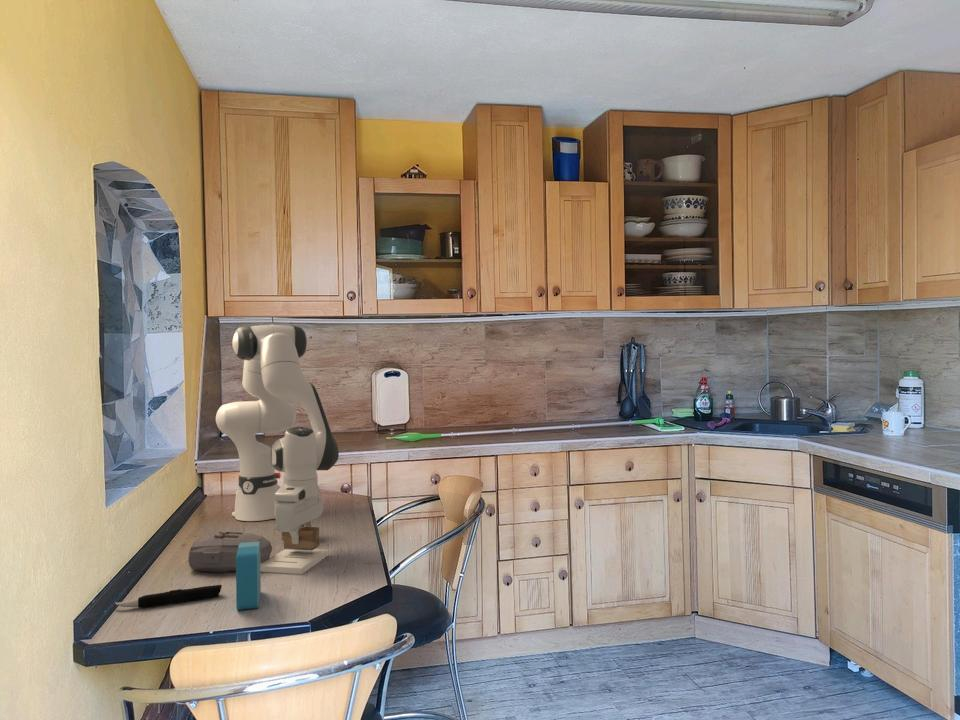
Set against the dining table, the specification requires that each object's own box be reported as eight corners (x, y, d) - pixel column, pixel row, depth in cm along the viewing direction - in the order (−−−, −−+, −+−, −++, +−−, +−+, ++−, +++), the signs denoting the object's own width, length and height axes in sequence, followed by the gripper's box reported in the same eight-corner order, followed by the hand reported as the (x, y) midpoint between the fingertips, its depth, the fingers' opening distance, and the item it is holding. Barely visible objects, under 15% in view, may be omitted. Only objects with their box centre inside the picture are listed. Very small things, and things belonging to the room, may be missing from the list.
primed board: (288, 552, 186) (287, 547, 186) (328, 555, 184) (328, 549, 184) (257, 571, 171) (257, 565, 171) (301, 574, 168) (301, 568, 168)
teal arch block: (240, 593, 155) (239, 541, 155) (260, 591, 157) (260, 539, 156) (236, 612, 144) (235, 556, 144) (258, 610, 145) (258, 554, 145)
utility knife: (114, 615, 143) (113, 601, 143) (115, 608, 147) (114, 595, 147) (222, 598, 153) (222, 585, 153) (220, 592, 156) (220, 580, 156)
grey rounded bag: (182, 574, 168) (262, 574, 168) (181, 541, 168) (262, 540, 168) (206, 556, 183) (280, 555, 184) (205, 525, 183) (279, 525, 183)
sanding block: (292, 544, 184) (291, 526, 184) (319, 545, 182) (319, 527, 182) (283, 549, 180) (283, 530, 180) (311, 550, 178) (311, 531, 178)
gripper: (307, 481, 192) (308, 529, 192) (270, 496, 172) (271, 550, 172) (328, 481, 190) (328, 530, 190) (293, 496, 170) (294, 551, 170)
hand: (301, 540), depth 181 cm, fingers closed on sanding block, 4 cm apart
